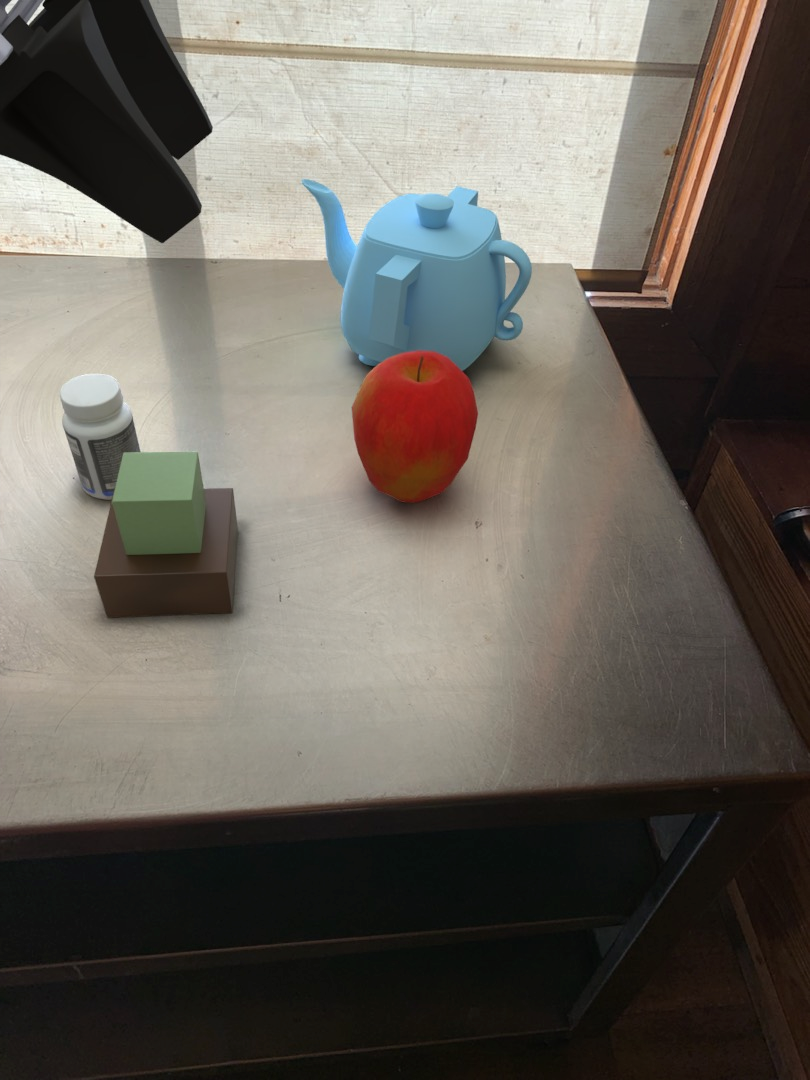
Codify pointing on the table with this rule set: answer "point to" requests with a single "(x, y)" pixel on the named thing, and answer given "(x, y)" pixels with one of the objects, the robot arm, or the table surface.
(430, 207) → the teapot
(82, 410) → the pill bottle
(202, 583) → the walnut base
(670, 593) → the table surface
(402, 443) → the apple
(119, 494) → the green block
